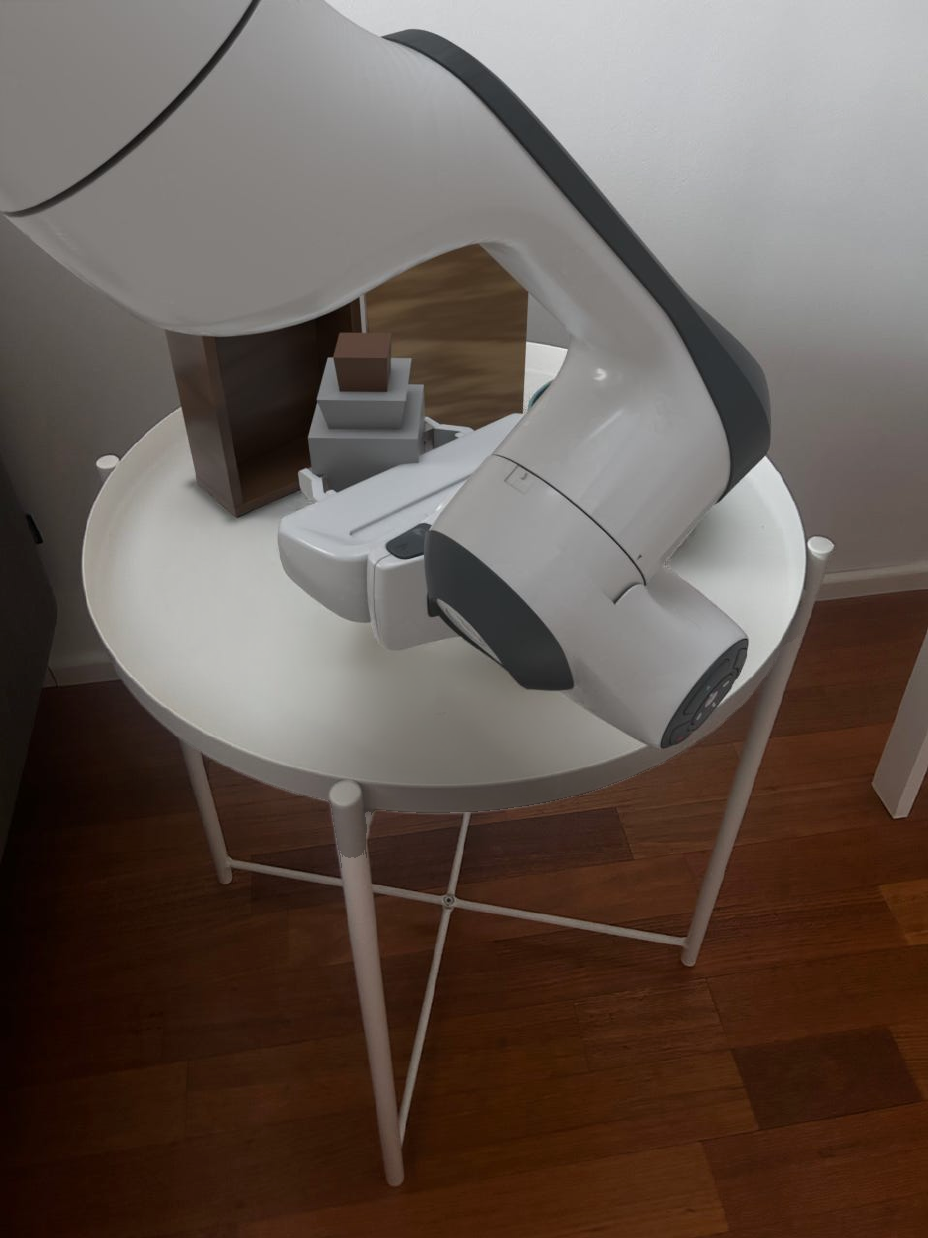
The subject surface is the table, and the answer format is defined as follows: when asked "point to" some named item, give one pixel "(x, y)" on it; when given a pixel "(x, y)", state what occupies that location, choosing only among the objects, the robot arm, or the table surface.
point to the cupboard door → (457, 334)
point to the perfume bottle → (365, 412)
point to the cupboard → (254, 404)
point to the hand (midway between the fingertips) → (363, 452)
